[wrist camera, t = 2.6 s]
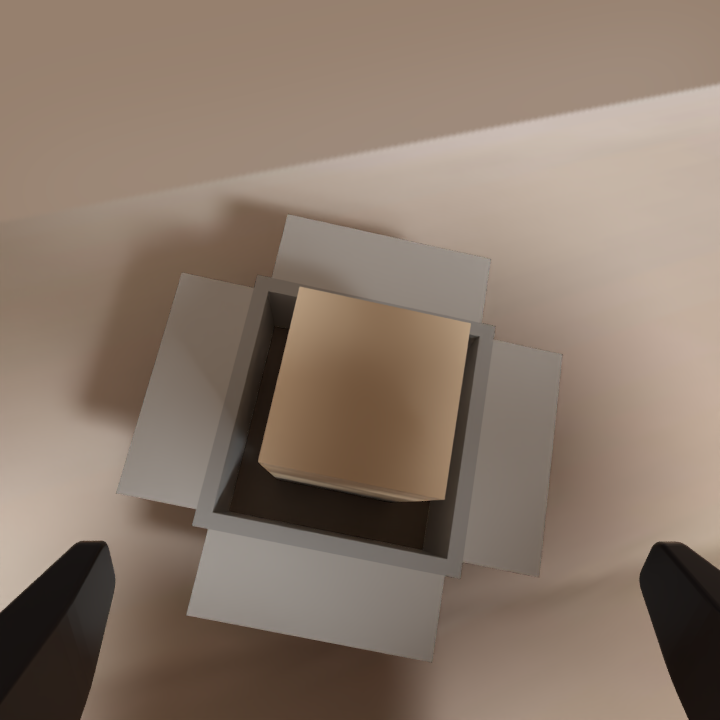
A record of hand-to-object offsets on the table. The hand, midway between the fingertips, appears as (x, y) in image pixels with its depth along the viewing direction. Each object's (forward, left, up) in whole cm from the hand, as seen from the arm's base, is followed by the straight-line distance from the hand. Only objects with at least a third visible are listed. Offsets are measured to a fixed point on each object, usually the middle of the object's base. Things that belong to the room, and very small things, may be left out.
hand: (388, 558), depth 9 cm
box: (+1, -4, -13) cm, 13 cm away
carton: (+1, -4, -13) cm, 13 cm away
